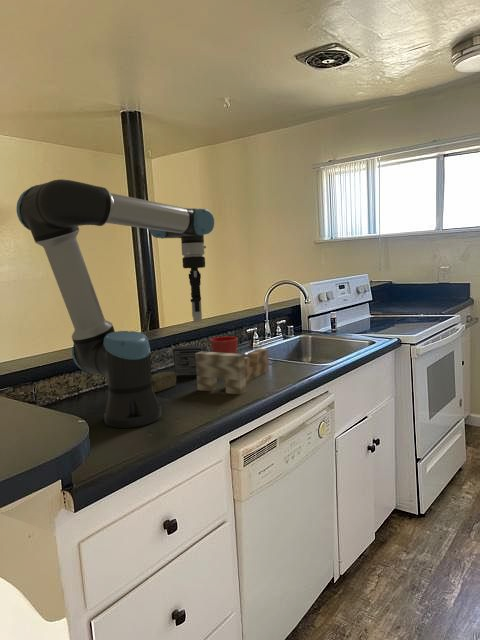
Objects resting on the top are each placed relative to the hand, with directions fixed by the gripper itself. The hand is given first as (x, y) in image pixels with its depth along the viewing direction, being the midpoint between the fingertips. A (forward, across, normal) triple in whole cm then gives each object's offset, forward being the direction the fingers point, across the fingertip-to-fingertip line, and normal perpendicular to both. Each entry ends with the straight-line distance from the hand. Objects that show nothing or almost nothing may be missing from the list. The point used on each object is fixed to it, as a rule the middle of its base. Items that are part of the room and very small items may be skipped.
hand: (197, 319), depth 165 cm
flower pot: (+21, +26, -11) cm, 35 cm away
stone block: (+22, -6, +14) cm, 27 cm away
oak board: (+21, -1, -17) cm, 27 cm away
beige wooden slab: (+22, -14, -6) cm, 27 cm away
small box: (+22, +10, +3) cm, 24 cm away
